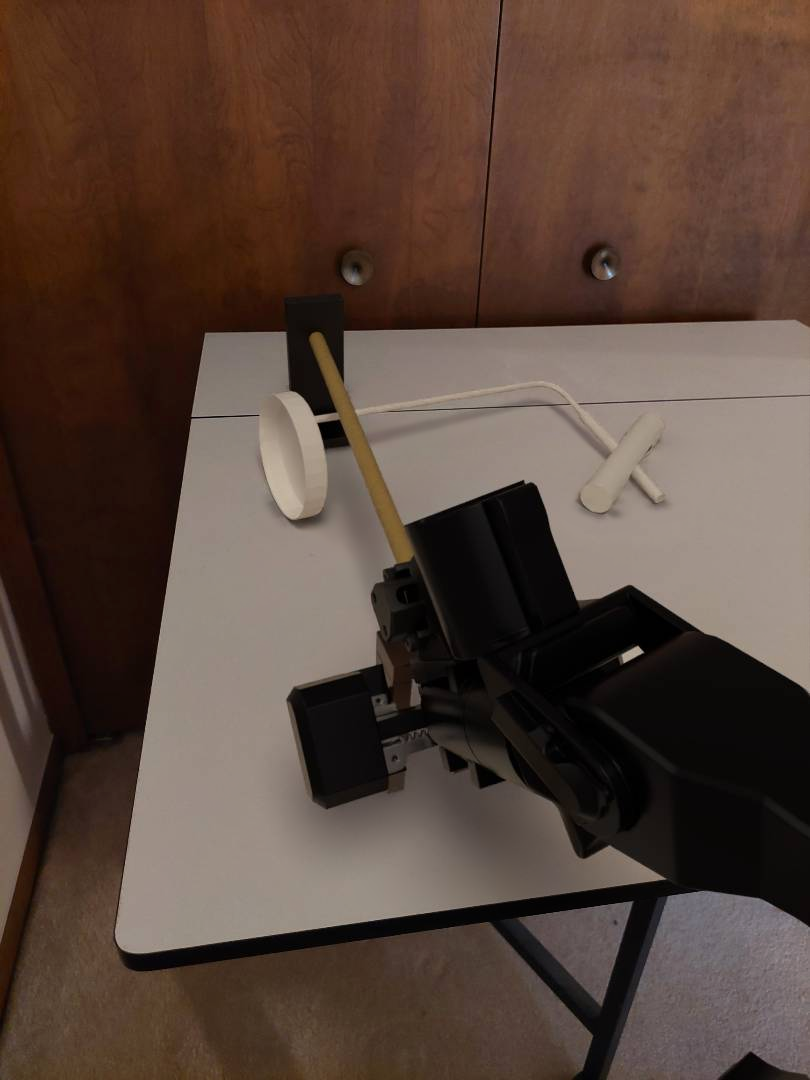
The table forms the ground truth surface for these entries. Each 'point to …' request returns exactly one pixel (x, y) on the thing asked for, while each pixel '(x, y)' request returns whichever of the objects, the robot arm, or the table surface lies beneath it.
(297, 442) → the desk lamp
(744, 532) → the table surface
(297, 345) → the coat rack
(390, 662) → the brown wooden arch
